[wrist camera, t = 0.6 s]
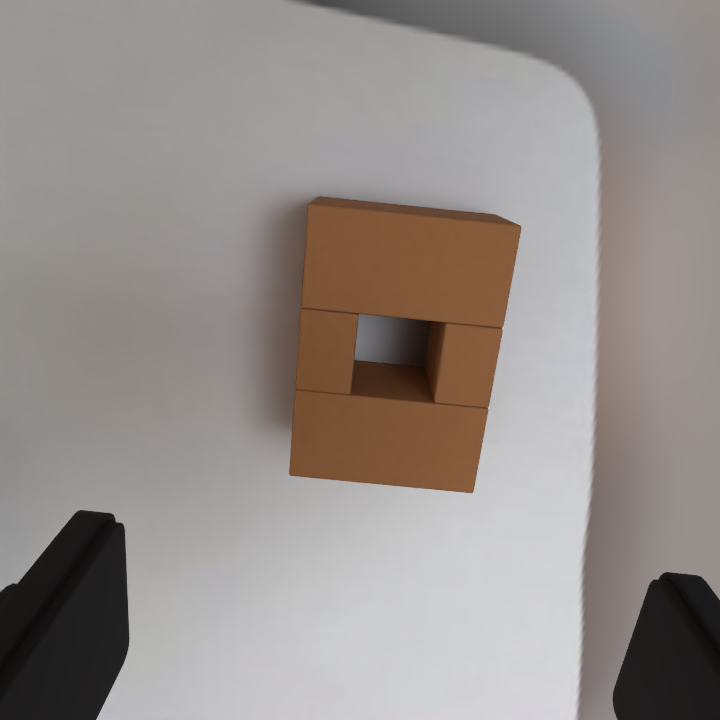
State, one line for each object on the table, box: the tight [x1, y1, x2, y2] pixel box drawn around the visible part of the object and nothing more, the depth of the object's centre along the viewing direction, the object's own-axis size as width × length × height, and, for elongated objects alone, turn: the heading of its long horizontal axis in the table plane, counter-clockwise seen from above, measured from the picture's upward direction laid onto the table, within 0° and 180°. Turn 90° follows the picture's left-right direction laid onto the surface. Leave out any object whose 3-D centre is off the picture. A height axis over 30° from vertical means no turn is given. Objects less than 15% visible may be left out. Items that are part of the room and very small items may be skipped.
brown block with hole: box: [289, 197, 521, 493], centre depth 23 cm, size 10×7×4 cm
